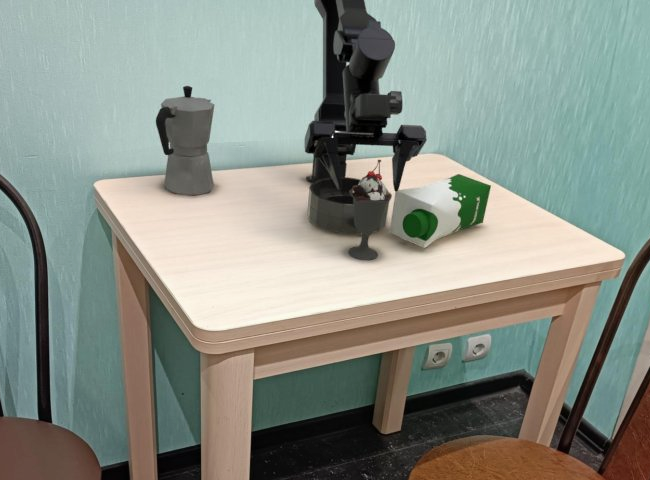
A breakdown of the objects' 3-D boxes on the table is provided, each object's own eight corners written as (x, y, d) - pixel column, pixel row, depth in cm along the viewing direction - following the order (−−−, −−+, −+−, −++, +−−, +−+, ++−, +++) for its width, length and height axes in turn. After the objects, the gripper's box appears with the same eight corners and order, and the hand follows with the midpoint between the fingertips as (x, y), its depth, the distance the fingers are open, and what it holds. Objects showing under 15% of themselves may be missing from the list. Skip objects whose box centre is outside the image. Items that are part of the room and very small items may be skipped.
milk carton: (486, 229, 138) (418, 255, 125) (446, 213, 142) (377, 237, 130) (496, 181, 133) (427, 204, 120) (455, 166, 138) (384, 187, 125)
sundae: (379, 246, 127) (391, 156, 118) (386, 263, 121) (399, 170, 113) (340, 244, 126) (350, 154, 117) (345, 261, 120) (355, 168, 112)
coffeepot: (188, 172, 148) (187, 75, 138) (229, 183, 145) (231, 84, 135) (138, 193, 137) (133, 89, 127) (182, 206, 134) (180, 100, 124)
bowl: (291, 214, 135) (293, 184, 132) (350, 201, 143) (353, 172, 140) (342, 242, 127) (345, 211, 123) (402, 227, 135) (407, 197, 132)
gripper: (313, 65, 112) (319, 163, 110) (433, 72, 116) (442, 167, 113) (301, 106, 123) (306, 196, 120) (412, 111, 126) (419, 199, 124)
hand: (368, 189), depth 119 cm, fingers open, 9 cm apart
